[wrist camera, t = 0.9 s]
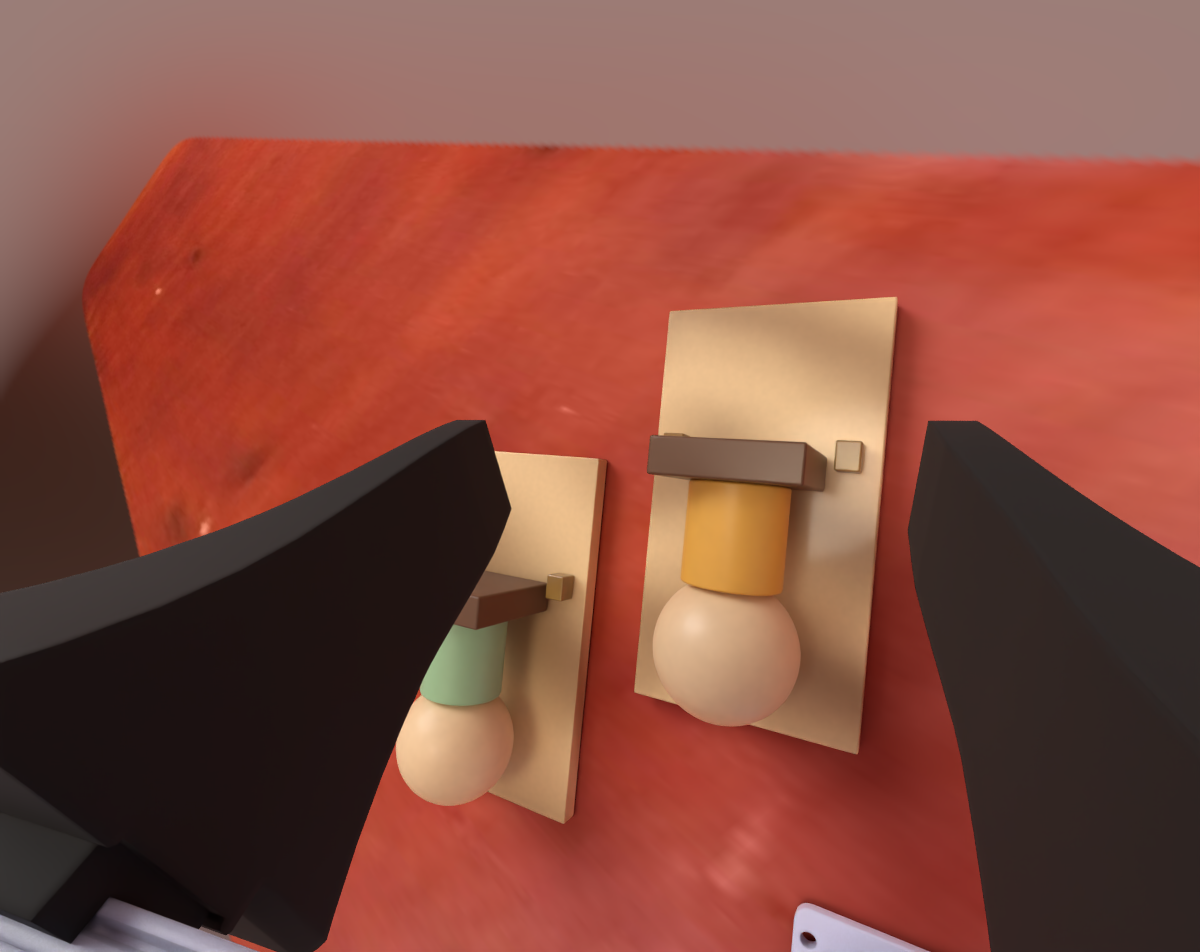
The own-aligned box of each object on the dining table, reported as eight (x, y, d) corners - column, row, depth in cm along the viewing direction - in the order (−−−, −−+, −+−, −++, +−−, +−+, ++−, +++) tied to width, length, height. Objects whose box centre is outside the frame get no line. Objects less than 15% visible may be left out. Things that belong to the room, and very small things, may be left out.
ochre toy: (804, 717, 19) (777, 771, 15) (675, 683, 21) (622, 723, 17) (827, 456, 19) (807, 441, 15) (697, 449, 22) (649, 434, 18)
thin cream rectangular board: (573, 815, 24) (551, 836, 23) (432, 757, 28) (405, 771, 26) (607, 460, 24) (588, 456, 23) (462, 449, 28) (438, 446, 27)
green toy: (530, 791, 24) (454, 848, 20) (447, 758, 26) (364, 803, 22) (550, 583, 24) (478, 597, 20) (466, 566, 26) (387, 576, 22)
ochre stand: (859, 747, 19) (855, 766, 18) (641, 687, 23) (623, 699, 22) (898, 304, 20) (897, 286, 18) (676, 316, 23) (660, 303, 22)
